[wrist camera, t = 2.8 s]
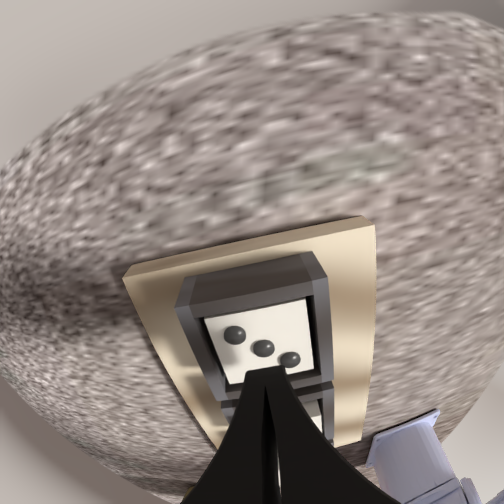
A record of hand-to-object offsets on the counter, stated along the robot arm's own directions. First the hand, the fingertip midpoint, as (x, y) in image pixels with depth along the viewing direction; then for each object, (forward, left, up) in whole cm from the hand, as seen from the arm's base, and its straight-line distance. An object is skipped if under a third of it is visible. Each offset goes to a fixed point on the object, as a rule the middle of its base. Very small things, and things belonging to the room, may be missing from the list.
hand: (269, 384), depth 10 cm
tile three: (0, 0, -4) cm, 4 cm away
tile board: (-6, 0, -6) cm, 9 cm away
